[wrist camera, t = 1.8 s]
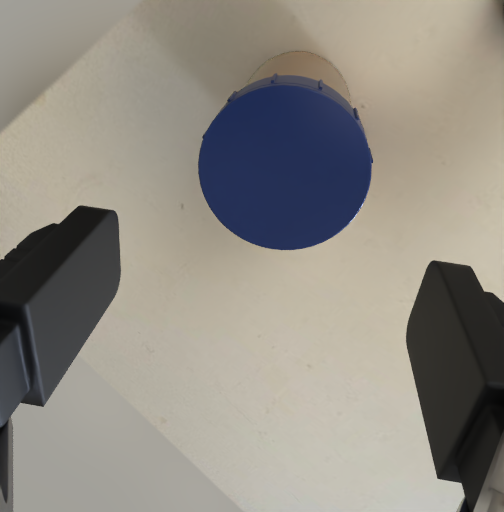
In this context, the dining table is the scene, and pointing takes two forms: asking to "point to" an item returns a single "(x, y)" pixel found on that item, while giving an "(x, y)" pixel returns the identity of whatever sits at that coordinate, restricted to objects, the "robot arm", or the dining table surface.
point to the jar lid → (285, 163)
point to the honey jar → (303, 70)
